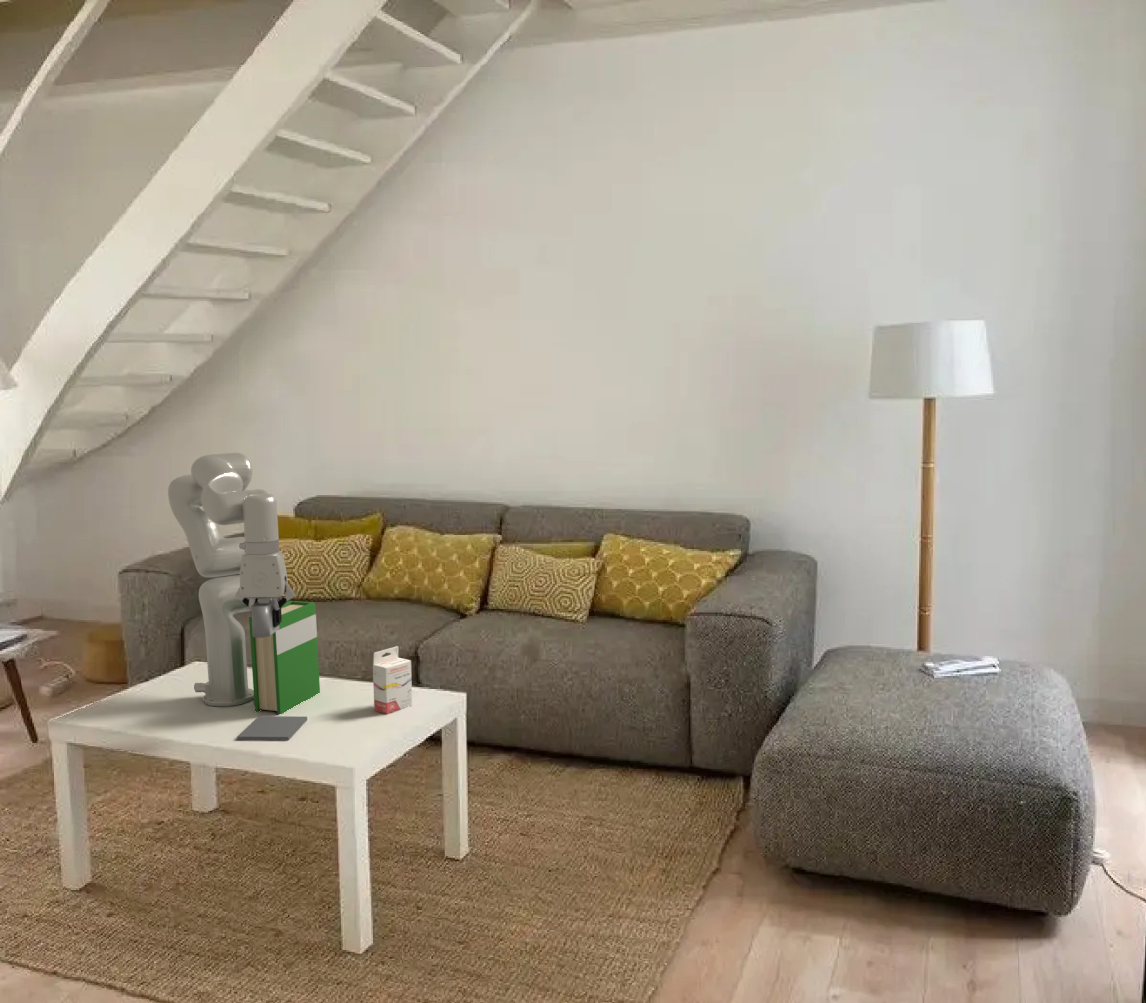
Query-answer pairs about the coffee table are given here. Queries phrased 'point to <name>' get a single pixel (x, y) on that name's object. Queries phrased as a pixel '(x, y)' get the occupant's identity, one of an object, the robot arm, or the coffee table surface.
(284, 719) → the charcoal mat
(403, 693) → the ink cartridge box
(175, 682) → the coffee table surface
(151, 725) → the coffee table surface
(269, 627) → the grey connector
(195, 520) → the robot arm
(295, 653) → the hardback book
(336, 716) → the coffee table surface
